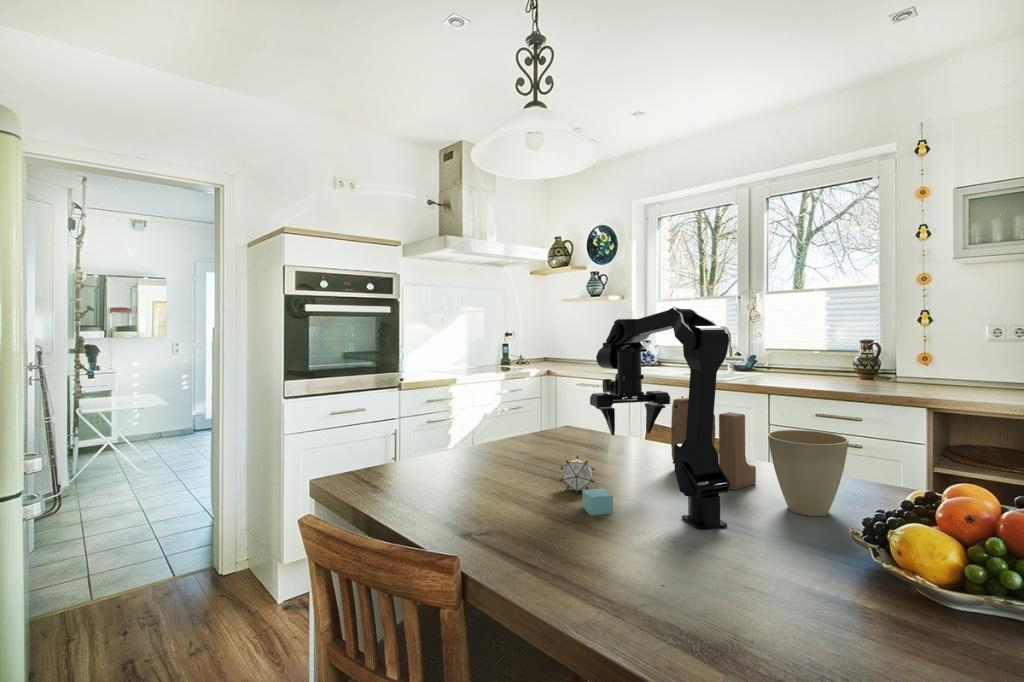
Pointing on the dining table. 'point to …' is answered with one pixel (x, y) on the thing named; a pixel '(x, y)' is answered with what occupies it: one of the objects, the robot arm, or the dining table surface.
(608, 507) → the teal block
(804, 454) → the plant pot
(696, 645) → the dining table surface
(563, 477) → the game die
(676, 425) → the wooden upright piece
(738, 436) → the wooden block
